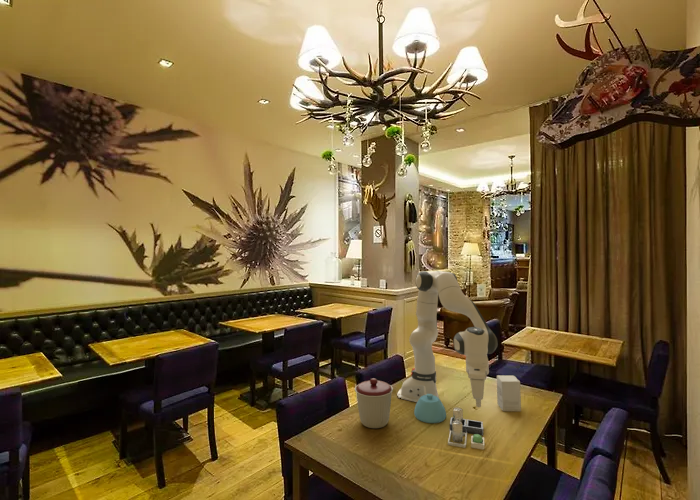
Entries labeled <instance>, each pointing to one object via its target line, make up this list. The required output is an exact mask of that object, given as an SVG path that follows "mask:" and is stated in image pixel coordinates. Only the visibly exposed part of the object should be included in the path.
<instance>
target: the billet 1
mask: <svg viewBox="0 0 700 500" xmlns="http://www.w3.org/2000/svg"><path fill="white" fill-rule="evenodd" d="M463 411H464V410H463V409H462V408H461V407H453V410H452V412H453V416H452V417H453V419H454V421H460V422H462V425H463V419H464V417H463V415H464V414H463V413H464V412H463Z"/></svg>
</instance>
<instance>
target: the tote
mask: <svg viewBox="0 0 700 500" xmlns="http://www.w3.org/2000/svg"><path fill="white" fill-rule="evenodd" d="M448 435H449V436H448V440H447V446H452V447H458V448H463V449H466V448H467V437H468V433H463V432H462V435H463V436H465V437H464V443H457V442H454V441H453V442H451V438H452V437H451V436H452V435H453V431H451V430H450V429H449V434H448Z"/></svg>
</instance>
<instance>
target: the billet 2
mask: <svg viewBox="0 0 700 500" xmlns="http://www.w3.org/2000/svg"><path fill="white" fill-rule="evenodd" d="M452 431H453V434H452V441H453V443H458V444H462V443H463V440H464V439H463V435H462V422H460V421H453V422H452Z"/></svg>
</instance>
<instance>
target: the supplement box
mask: <svg viewBox="0 0 700 500" xmlns="http://www.w3.org/2000/svg"><path fill="white" fill-rule="evenodd" d="M496 392H497V394H496V396H497V397H496V399H497V405H498V407H499V408H500V409H501V410H502V412H522V400H521V399H522V398H521V397H522V396H521V381H520V380H519V379H518V378H517V377H516V376H515V375H501V374H500V375H499V374H498V375H496Z"/></svg>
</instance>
